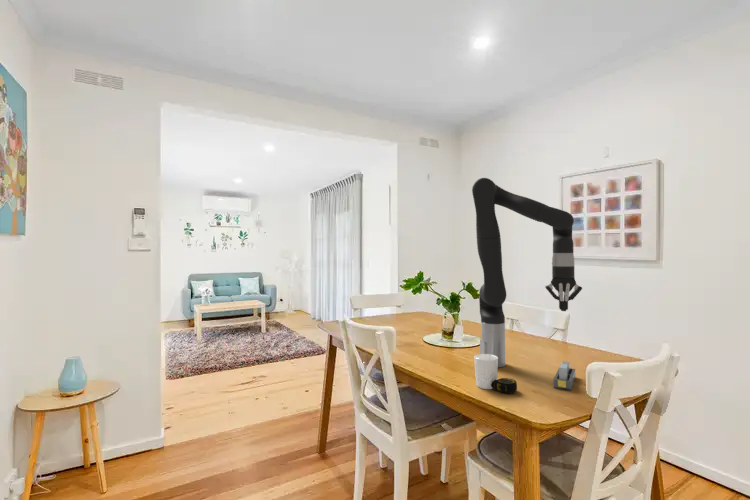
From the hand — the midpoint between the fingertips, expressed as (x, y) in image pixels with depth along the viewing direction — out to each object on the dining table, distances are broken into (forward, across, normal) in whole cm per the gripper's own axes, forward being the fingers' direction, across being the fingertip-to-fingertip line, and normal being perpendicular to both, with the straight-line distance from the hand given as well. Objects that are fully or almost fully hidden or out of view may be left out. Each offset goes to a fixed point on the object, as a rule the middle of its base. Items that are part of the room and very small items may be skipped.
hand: (563, 310), depth 144 cm
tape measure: (+24, -23, -25) cm, 41 cm away
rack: (+23, -2, -12) cm, 26 cm away
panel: (+22, -3, -15) cm, 27 cm away
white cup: (+24, -28, -22) cm, 43 cm away
